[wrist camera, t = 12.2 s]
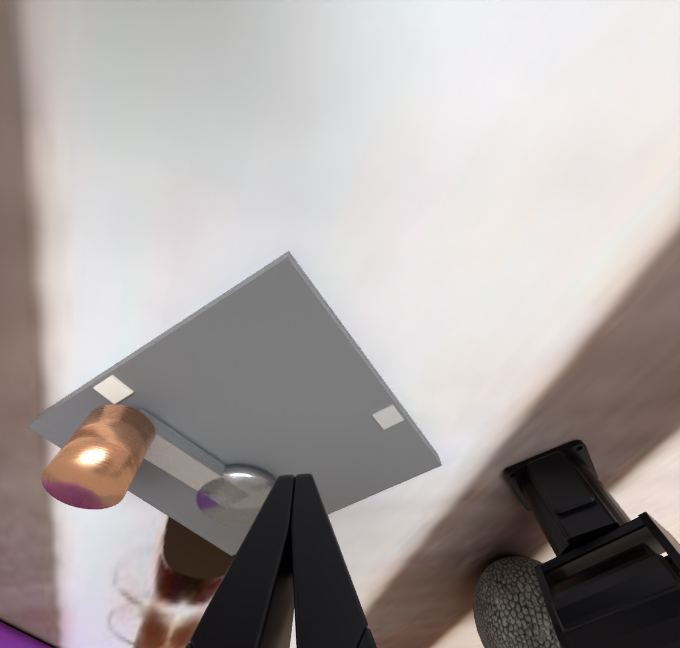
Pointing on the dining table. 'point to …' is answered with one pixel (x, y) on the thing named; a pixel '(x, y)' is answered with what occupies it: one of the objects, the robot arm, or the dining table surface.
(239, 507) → the crank
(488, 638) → the decorative ball
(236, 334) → the mount plate
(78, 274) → the dining table surface
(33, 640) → the shopping bag
